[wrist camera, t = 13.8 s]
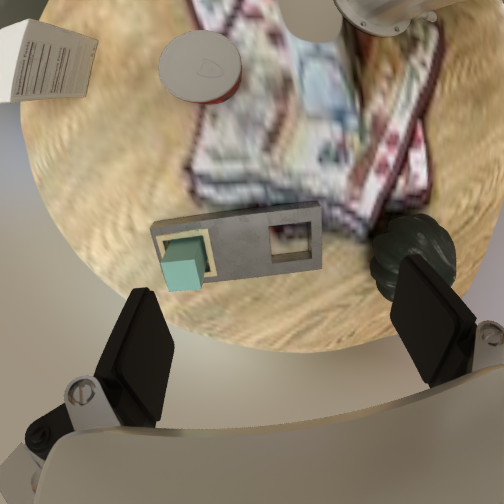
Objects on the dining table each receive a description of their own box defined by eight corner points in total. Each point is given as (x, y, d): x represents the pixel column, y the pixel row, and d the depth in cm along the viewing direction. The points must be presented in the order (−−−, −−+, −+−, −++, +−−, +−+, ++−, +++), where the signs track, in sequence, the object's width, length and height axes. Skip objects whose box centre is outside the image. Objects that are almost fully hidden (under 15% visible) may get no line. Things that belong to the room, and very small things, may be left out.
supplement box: (41, 98, 29) (-36, 110, 15) (52, 44, 25) (-22, 35, 10) (87, 97, 31) (9, 103, 16) (100, 39, 26) (29, 16, 12)
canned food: (237, 107, 33) (235, 105, 24) (177, 103, 33) (152, 101, 23) (245, 54, 30) (247, 32, 20) (184, 50, 29) (163, 29, 19)
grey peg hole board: (316, 200, 40) (321, 207, 37) (318, 260, 45) (322, 269, 42) (154, 221, 40) (149, 229, 38) (170, 278, 45) (166, 287, 43)
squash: (361, 315, 44) (444, 338, 32) (348, 236, 37) (453, 250, 26) (394, 267, 51) (463, 280, 40) (385, 196, 44) (466, 202, 33)
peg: (202, 232, 42) (194, 259, 35) (207, 258, 44) (201, 289, 37) (173, 235, 42) (160, 262, 35) (179, 261, 44) (169, 291, 37)
